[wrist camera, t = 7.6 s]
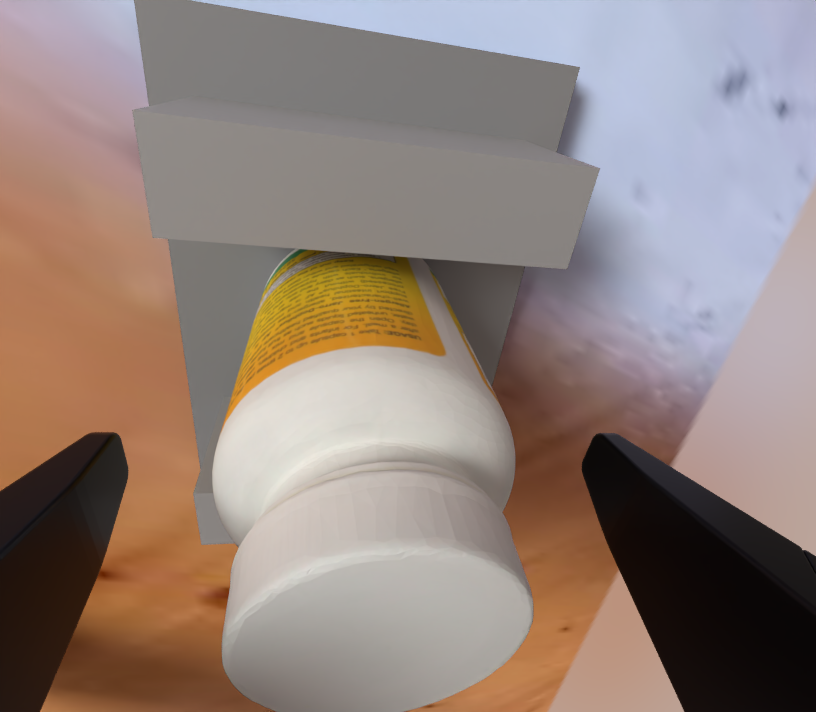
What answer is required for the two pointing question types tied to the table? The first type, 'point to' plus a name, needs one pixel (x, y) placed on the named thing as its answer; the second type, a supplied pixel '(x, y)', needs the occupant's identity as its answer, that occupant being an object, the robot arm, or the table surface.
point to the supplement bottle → (365, 495)
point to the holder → (342, 175)
